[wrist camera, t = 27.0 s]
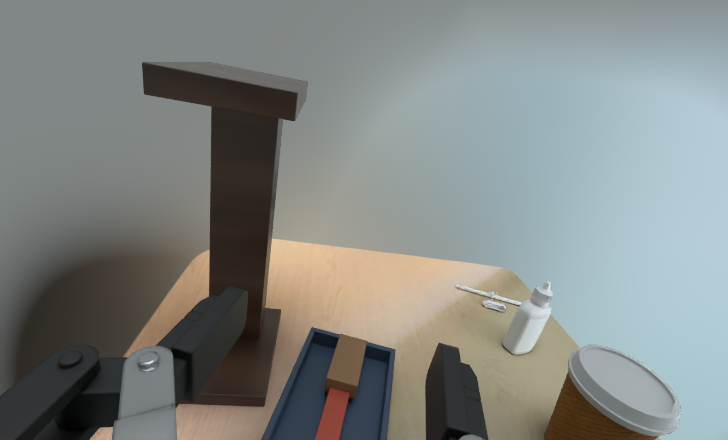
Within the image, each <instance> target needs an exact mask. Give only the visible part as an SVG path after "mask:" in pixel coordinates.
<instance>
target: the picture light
mask: <svg viewBox="0 0 728 440" xmlns="http://www.w3.org/2000/svg"><path fill="white" fill-rule="evenodd" d="M455 286H456V287H457V288H459V289H463V290H466V291H470V292H473V293H477V294H480V295H484V296H487V297H491V298H492V300H493V298H494V299H497V300H501V301H505V302H509V303H512V304H516V305H519V306H520V305H521V304H522V302H518V301H514V300H510V299H507V298H503V297H500V296H498V292H497V296H496V294H495V293H496V292H495V293H491V291H490V292H488V293H486V292H482V291H478V290H475V289H471V288H468V287H464V286H462V285H460V286H459V285H455ZM492 292H493V291H492ZM483 305H485V307H486V308H492V309H495V310H499V311H500V312H502V311H506V307H505V306H504V305H503V304H499V303H497V301H496V303H495V302H492V301H489V300H486V301H483Z"/></svg>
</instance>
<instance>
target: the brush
mask: <svg viewBox="0 0 728 440" xmlns="http://www.w3.org/2000/svg"><path fill="white" fill-rule="evenodd" d="M366 344H367V341H365V340H361V339H358V338H354V337H350V336H346V335H343V334H340V336H339V339H338V343H337V346H336V349H335V352H334V355H333V358H332V361H331V364H330V367H329V371H328V374H327V377H326V381H325V386H324V391H325V394H324V395H325V396H328V397H327V400H326V403H325V407H324V410H323V413H322V417H321V420H320V423H319V427H318V430H317V433H316V437H315V440H339V438H340V433H341V429H342V425H343V420H344V416H345V411H346V407H347V403H348V402H349V403H352V401H353V399H354V398H355V395H356V391H357V387H358V382H359V378H360V373H361V368H362V363H363V359H364V354H365V349H366Z"/></svg>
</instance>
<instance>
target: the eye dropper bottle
mask: <svg viewBox="0 0 728 440" xmlns="http://www.w3.org/2000/svg"><path fill="white" fill-rule="evenodd" d="M550 285H551V283H550V282H548V281H546V282H545V283H544V284H543V286H536V287H535V290H534V292H533V294H532V296H531V298H530V299H527V300H526V301H524V302H523V303H522V304H521V305H520V306H519V308H518V310H517V312H516V314H515V316H514V318H513V321H512V323H511V325H510V327H509V329H508V331H507V333H506V336H505V338H504V340H503V342H502V344H503V346H504V347H505V348H506V349H507V350H509V351H510V352H511V353H512V354H525V353H528V352H530V351H531V350H532V349H533V347H534V345H535V343H536V341H537V339H538V337H539V335H540V334H541V332H542V330H543V328H544V326H545V324H546V322H547V320H548V318H549V316H550V314H551V307H550V306H549V305H548V304H549V302H550V300H551V298H552V296H553V292H552V291H551V290H550Z"/></svg>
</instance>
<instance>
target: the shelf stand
mask: <svg viewBox="0 0 728 440" xmlns="http://www.w3.org/2000/svg"><path fill="white" fill-rule="evenodd" d="M142 68H143V85H144V94H145V95H151V96H157V97H162V98H167V99H173V100H179V101H185V102H190V103H195V104H201V105H207V106H212V111H211V112H212V113H211V193H210V194H211V195H210V272H209V296H211V295H215V296H220V295H221V293H222V292H223V291H224V290H225V289H226V288H227V287H229V286H231V287H235V288H239V289H243V290H246V291H248V303H247V317H246V323H245V327H244V329H243V331H242V333H241V335H240V336H239V338H238V339H237V341H236V342H235V343H234V345H233V346H232V348H231V349H230V351H229V352H228V353H227V355H226V356H225V358H224V359H223V360H222V362H221V363H220V365H219V366H218V367H217V369H216V370H215V372H214V373H213V374H212V376H211V377H210V379H209V380H208V382H207V383H206V384H205V386H204V387H203V389H202V390H201V391H200V393H199V394H198V396H197V397H196V398H195V400H194V401H193V402H190V401H186V400H183V399H182V400H181V402H180V403H189V404H216V405H243V406H264V404H265V399H266V393H267V388H268V382H269V377H270V371H271V365H272V360H273V354H274V349H275V343H276V338H277V332H278V326H279V321H280V314H281V309H269V308H265V304H266V294H267V283H268V273H269V262H270V252H271V241H272V230H273V219H274V208H275V198H276V188H277V177H278V167H279V156H280V146H281V135H282V125H283V119H285V120H291V121H295V120H296V118H297V116H298V114H299V112H300V110H301V108H302V106H303V104H304V103H305V101H306V94H307V85H308V82H307V81H302V80H297V79H292V78H287V77H282V76H276V75H272V74H267V73H262V72H257V71H252V70H247V69H242V68H237V67H232V66H226V65H222V64H217V63H212V62H143V63H142Z"/></svg>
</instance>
